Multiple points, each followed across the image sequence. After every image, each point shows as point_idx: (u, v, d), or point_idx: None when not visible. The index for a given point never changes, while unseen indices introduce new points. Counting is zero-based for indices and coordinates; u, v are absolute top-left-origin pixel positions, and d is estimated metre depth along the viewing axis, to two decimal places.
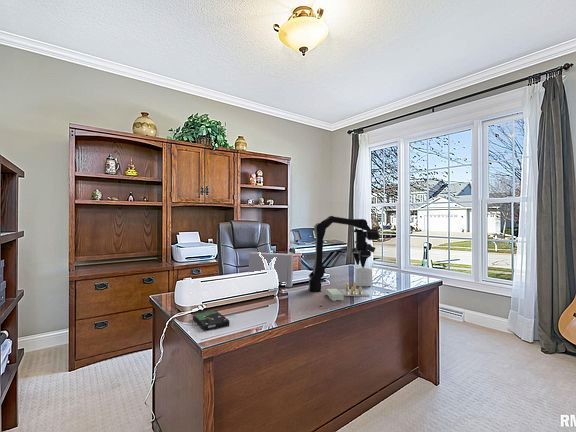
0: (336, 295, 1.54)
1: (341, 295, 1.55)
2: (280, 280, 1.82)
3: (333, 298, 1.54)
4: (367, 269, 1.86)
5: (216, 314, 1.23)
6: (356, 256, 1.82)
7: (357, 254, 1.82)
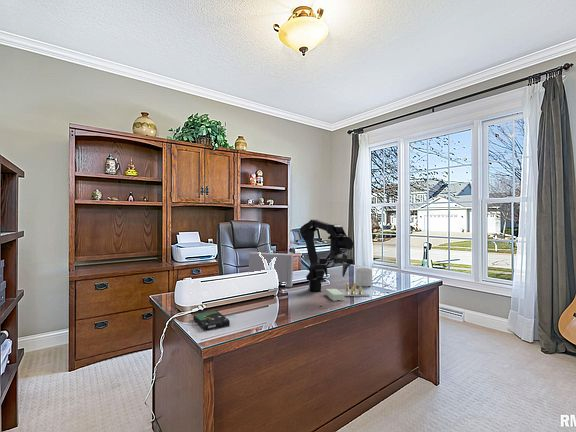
0: (337, 295, 1.54)
1: (342, 295, 1.55)
2: (280, 280, 1.82)
3: (334, 298, 1.54)
4: (367, 269, 1.86)
5: (216, 314, 1.23)
6: (343, 266, 1.62)
7: (344, 265, 1.61)
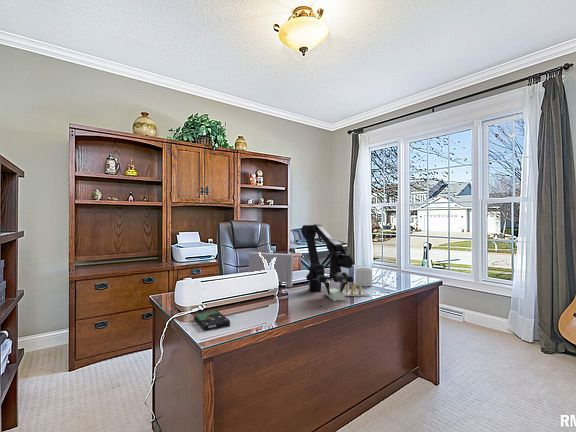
0: (337, 295, 1.54)
1: (342, 295, 1.55)
2: (280, 280, 1.82)
3: (334, 298, 1.54)
4: (367, 269, 1.86)
5: (217, 314, 1.23)
6: (341, 284, 1.62)
7: (341, 282, 1.61)
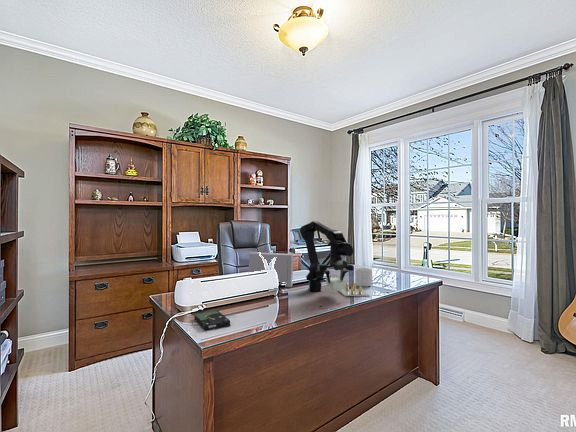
0: (337, 283, 1.54)
1: (342, 283, 1.55)
2: (280, 280, 1.82)
3: (334, 286, 1.54)
4: (367, 269, 1.86)
5: (217, 314, 1.23)
6: (341, 273, 1.62)
7: (341, 271, 1.61)
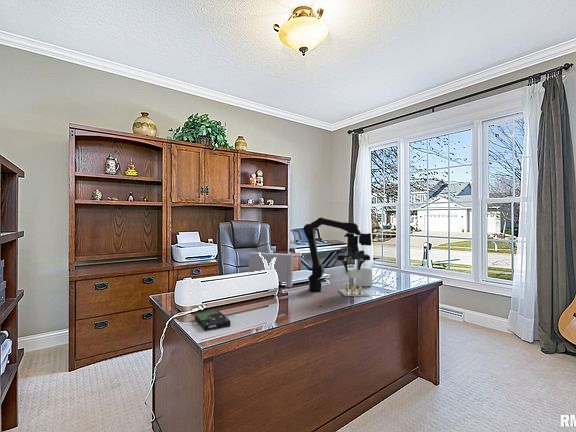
0: (354, 272, 1.62)
1: (359, 272, 1.62)
2: (280, 280, 1.82)
3: (352, 275, 1.62)
4: (367, 269, 1.86)
5: (217, 314, 1.23)
6: (358, 263, 1.69)
7: (358, 261, 1.68)
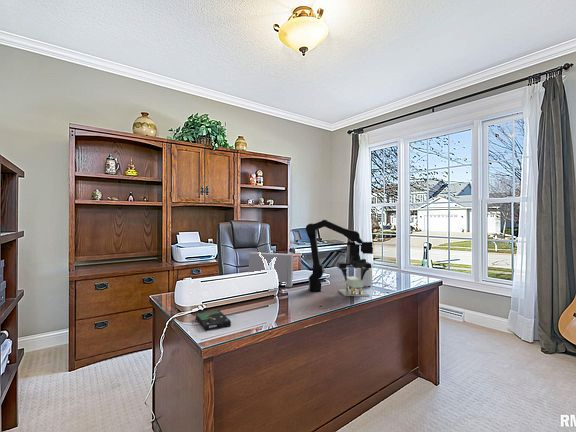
0: (356, 281, 1.63)
1: (361, 281, 1.63)
2: (280, 280, 1.82)
3: (353, 284, 1.63)
4: None
5: (218, 314, 1.23)
6: (361, 270, 1.70)
7: (362, 269, 1.70)
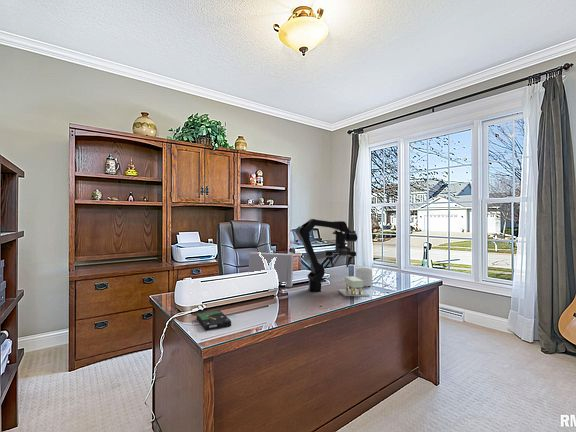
0: (356, 281, 1.63)
1: (361, 281, 1.63)
2: (280, 280, 1.82)
3: (353, 284, 1.63)
4: (367, 269, 1.86)
5: (219, 314, 1.23)
6: (347, 258, 1.81)
7: (347, 257, 1.80)
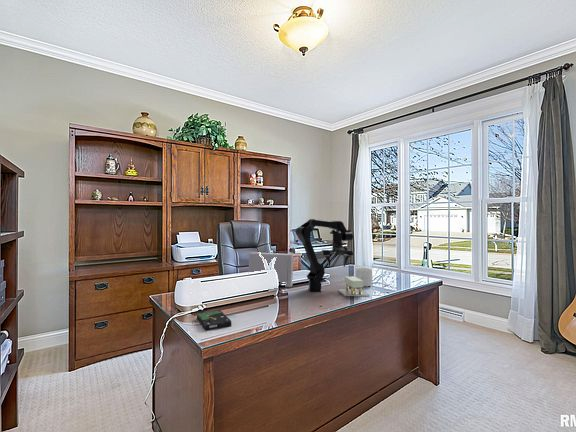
0: (356, 281, 1.63)
1: (361, 281, 1.63)
2: (280, 280, 1.82)
3: (353, 284, 1.63)
4: (367, 269, 1.86)
5: (219, 314, 1.23)
6: (344, 257, 1.83)
7: (344, 256, 1.83)
